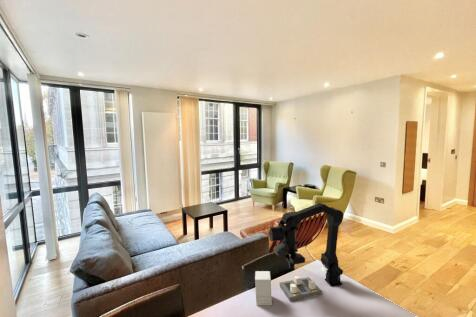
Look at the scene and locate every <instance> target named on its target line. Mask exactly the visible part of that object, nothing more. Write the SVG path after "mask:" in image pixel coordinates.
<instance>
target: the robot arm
mask: <svg viewBox="0 0 476 317" xmlns="http://www.w3.org/2000/svg"><path fill="white" fill-rule="evenodd" d="M321 213H324V214H325V215H326V216H325V217H326V222H327V225H328V227H327V234H326V235H327V236H326V237H327V238H326V247H325V251H324V252H322V253H321V254H320V261H321V264H322V265H323V266H324V268H325V269H326V272H325V278H324V281H325V282H326V283H327V284H329V286H331V287H337V286H342V285H343V282H342V281H341V275H343V272H344V270H343V269H342V268H341V267H340V266H339V259H338V256H337V246H338V235H339V226H340V225H341V224H343V220H344V219H343V218H344V213H343V210H340V209H337V208H335V207H329V206H328V205H326V203H325V204H324V203H323V202H318V203H316V204H314V205H311V206H308V207H306V208H303V209H300V210H298V211H288V212H285V213H283V215H282V217H281V219H280V221H279V223H278V224H277V225H278V226H270V227H269V230H268V238H269V240H270V242H277V241H281V242H279V243H278V244H277V245H275V246H274V247H273V248H272V249H273V252H274V254H275V255H277V257H283V256H284V257H285V259H286V261H287V264H288V267H289V269H290V270H293V269H294V266H295V265H300V264H305V263H306V258H305V256H303V254H301V253H298V252H299V249H297V244H298V240H297V236H296V235H297V234H296V231H300V228H299V227H298V226H297V225H299V224H300V223H301V222H303V221H304V220H307V219H308V218H311V217H314V216H316V215H318V214H321Z"/></svg>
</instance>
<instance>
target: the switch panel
mask: <svg viewBox="0 0 476 317" xmlns="http://www.w3.org/2000/svg"><path fill="white" fill-rule="evenodd" d="M300 278H301V277H300ZM310 280H312V279H311V277H309V276H308V277H303V278H301V284H299V285H296V284H295V283H294V279H292V280H286V281H281V282H279V283H278V284H279V288H280V289H281V291H282V292H283V293H284V295H285V297H286V298H287V300H288V301H289V302H291V301H298V300H302V299H303V300H304V299H307V298H311V297H317V296H321V295H323V291H322V289H321V288H320V287H319V286H318V285H317V284H316V283H315V289H313V290H311V289H310V288H309V285H308V281H310ZM290 284H295V285H296V286H297V293H293V294H292V292H291V291H290Z"/></svg>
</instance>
